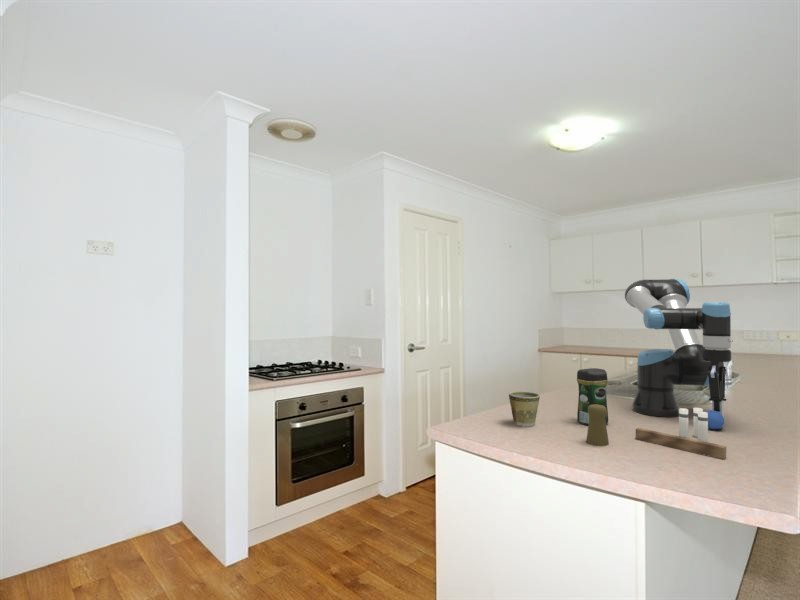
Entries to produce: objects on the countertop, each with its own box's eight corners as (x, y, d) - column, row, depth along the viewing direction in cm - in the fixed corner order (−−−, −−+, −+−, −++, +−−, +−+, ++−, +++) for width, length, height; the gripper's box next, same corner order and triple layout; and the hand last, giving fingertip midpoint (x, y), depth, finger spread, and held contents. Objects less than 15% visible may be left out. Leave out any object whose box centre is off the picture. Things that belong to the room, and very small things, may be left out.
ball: (701, 431, 142) (699, 415, 140) (703, 421, 146) (702, 405, 145) (724, 434, 138) (722, 418, 136) (726, 424, 142) (724, 407, 141)
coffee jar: (594, 418, 154) (594, 366, 154) (612, 424, 146) (612, 369, 147) (572, 421, 150) (572, 367, 151) (590, 427, 143) (589, 370, 143)
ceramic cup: (533, 430, 140) (533, 398, 140) (504, 424, 146) (504, 395, 146) (546, 421, 150) (546, 392, 151) (519, 416, 157) (519, 388, 157)
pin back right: (697, 441, 128) (697, 412, 128) (698, 439, 130) (698, 410, 130) (707, 443, 127) (707, 413, 127) (708, 441, 129) (708, 412, 129)
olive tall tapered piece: (611, 446, 124) (611, 407, 124) (588, 445, 125) (588, 406, 125) (605, 440, 130) (605, 403, 130) (584, 438, 131) (584, 402, 131)
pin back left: (678, 437, 132) (678, 409, 132) (679, 435, 134) (679, 407, 134) (687, 439, 131) (687, 410, 131) (689, 437, 132) (689, 409, 132)
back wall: (635, 438, 131) (635, 428, 131) (638, 437, 132) (638, 427, 132) (723, 459, 114) (723, 447, 114) (726, 457, 115) (726, 446, 115)
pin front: (692, 436, 133) (692, 408, 133) (693, 434, 135) (693, 407, 135) (702, 438, 131) (702, 409, 131) (703, 436, 133) (703, 408, 133)
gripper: (726, 350, 137) (727, 426, 136) (735, 348, 145) (736, 419, 145) (697, 349, 142) (699, 422, 142) (708, 347, 151) (709, 415, 150)
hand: (718, 420), depth 143 cm, fingers closed
